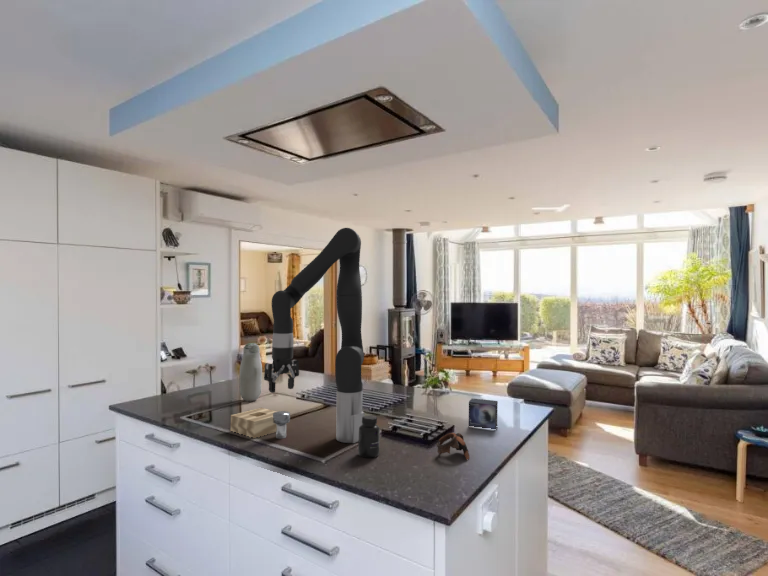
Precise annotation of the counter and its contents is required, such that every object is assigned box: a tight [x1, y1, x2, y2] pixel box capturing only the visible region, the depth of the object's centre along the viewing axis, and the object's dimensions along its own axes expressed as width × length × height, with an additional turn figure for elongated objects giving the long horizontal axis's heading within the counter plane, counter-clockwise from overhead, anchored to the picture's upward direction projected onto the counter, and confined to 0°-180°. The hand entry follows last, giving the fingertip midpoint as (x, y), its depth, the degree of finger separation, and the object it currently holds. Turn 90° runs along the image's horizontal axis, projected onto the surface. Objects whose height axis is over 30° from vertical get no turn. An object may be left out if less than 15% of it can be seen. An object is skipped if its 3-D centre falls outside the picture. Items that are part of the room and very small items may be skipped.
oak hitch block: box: [230, 407, 278, 439], centre depth 163 cm, size 14×14×6 cm
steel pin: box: [273, 410, 291, 439], centre depth 156 cm, size 6×6×8 cm
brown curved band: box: [436, 432, 470, 461], centre depth 139 cm, size 12×10×8 cm
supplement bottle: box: [357, 414, 381, 459], centre depth 139 cm, size 7×7×12 cm
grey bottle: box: [239, 342, 263, 402], centre depth 210 cm, size 10×10×28 cm
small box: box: [468, 397, 499, 430], centre depth 169 cm, size 11×6×10 cm, turn 68°
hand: (281, 390), depth 156 cm, fingers open, 8 cm apart
